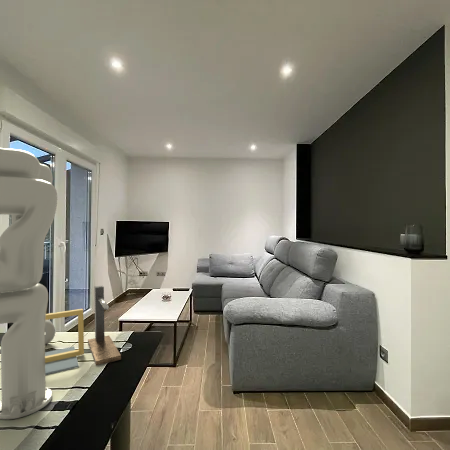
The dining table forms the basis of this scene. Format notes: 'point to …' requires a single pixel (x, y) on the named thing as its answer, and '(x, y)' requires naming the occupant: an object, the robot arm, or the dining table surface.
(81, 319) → the frame
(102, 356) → the stand
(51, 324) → the donut
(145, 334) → the dining table surface
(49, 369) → the mat
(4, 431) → the dining table surface
